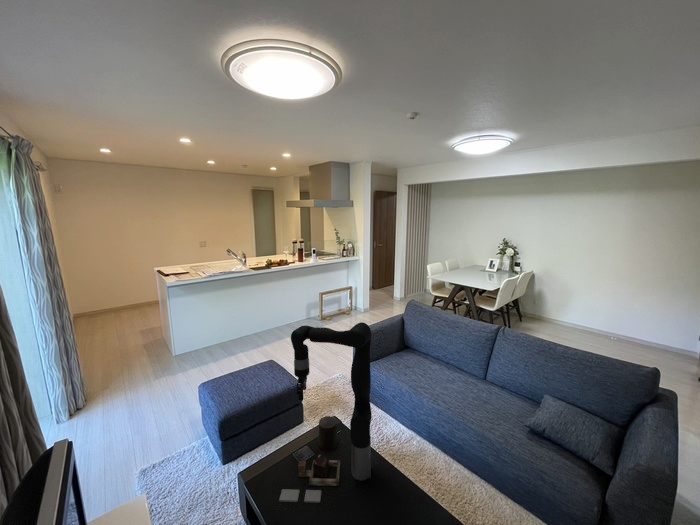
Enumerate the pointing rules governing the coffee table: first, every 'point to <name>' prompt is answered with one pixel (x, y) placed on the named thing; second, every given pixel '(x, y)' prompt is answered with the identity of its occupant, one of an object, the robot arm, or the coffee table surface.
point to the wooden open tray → (319, 481)
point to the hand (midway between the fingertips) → (302, 394)
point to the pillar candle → (327, 433)
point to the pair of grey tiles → (293, 495)
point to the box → (321, 467)
